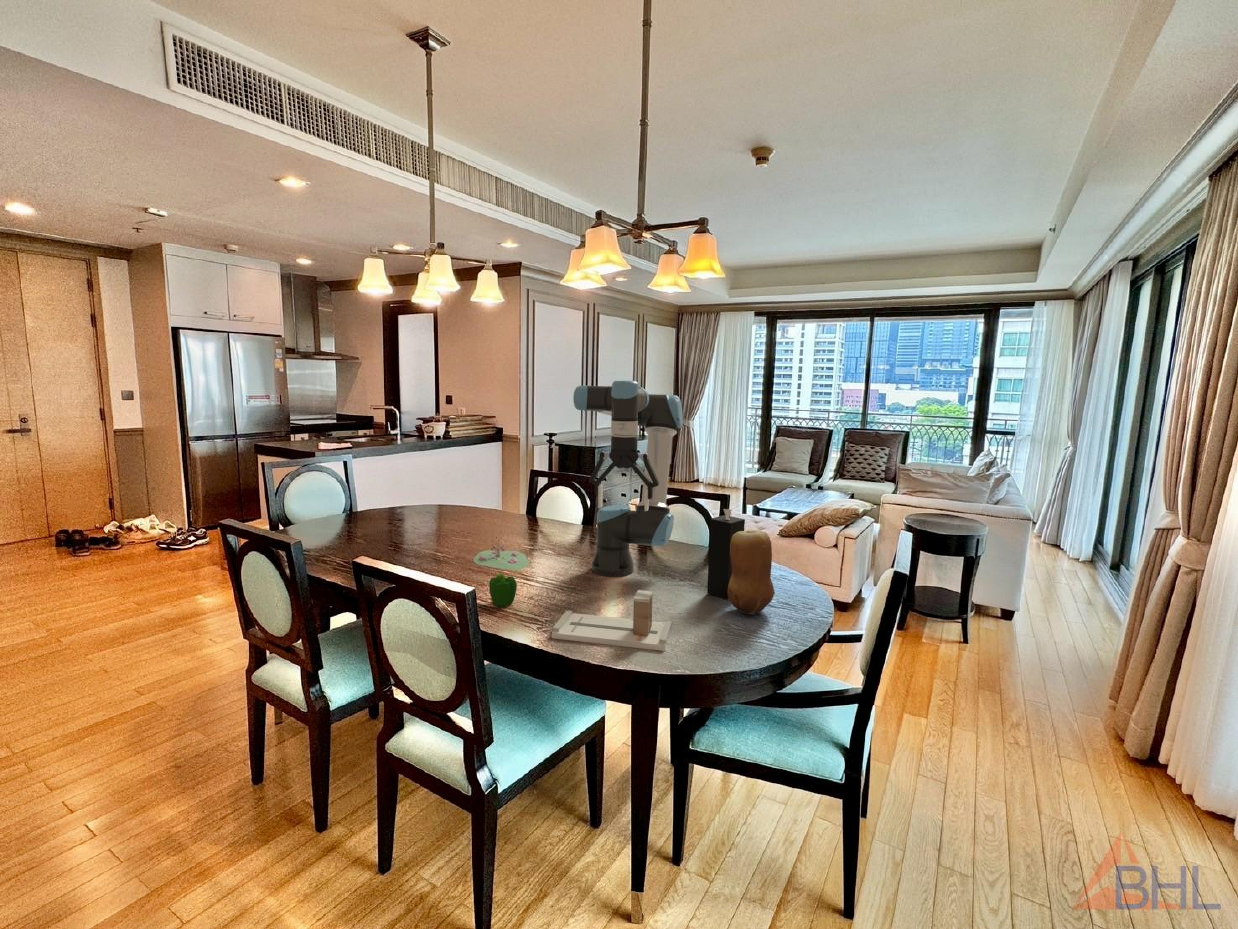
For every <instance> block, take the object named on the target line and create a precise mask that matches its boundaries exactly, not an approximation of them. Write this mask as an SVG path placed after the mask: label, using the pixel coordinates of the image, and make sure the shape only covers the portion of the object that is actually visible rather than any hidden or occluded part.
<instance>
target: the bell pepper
mask: <svg viewBox="0 0 1238 929" xmlns="http://www.w3.org/2000/svg"><path fill="white" fill-rule="evenodd" d="M517 584H518V583H517V581H516V579H515V578H514V577H513V576H512V575H511V576H504V574H503V573H500V572H499V573H498V574H497V575H496V576H495V577H491V578H490V580H489V584H488V585H489V587H488V588H489V589H488V590H489V593H490V594H489V595H490V598H491V601H492V603H493V605H494V606H496V607H499V608H501V607H502V608H503V607H506V606H508V605H512V604H513V603H514V601H515V598H516V594H517V590H518V589H517V588H518V587H517V586H518V585H517Z"/></svg>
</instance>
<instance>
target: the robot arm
mask: <svg viewBox="0 0 1238 929" xmlns="http://www.w3.org/2000/svg"><path fill="white" fill-rule="evenodd" d="M572 400H573V406H574V408H575V409H576V410H578V411H584V412H589V411H590V412H596V413H600V414H603V415H606V416H610V417H611V418H610V419H611V422H610V434H611V435H612V436H611V438H610V441H611V442H610V451H609V452H607V451H605V450H602V451H601V452H600V453H599V459H598V461H597V463H596V465H595V467H594V469H593V471H592V473H591V475H590V477H589V479H588V483H589V484H592V485H594V495H595V497H597V509H599V510H598V511H597V513H596V514H597V515H596V517H597V518H596V521H595V522H596V550H595V552H594V555H593V558H592V561H591V571H592V572H593V574H596V575H599V576H604V577H605V576H606V577H623V576H627V575H630V574H632V573H633V572H634V569H635V564H634V561H633V559H632V558H633V557H632V554H631V551H630V544H631V545H641V546H648V547H649V546H651V547H665V546H666V545H667V544H668V543H669V541H670V539H671V536H672V533H673V528H674V520H675V517H674V514H673V513H671V512H670V511H671V510H670V509H671V508H670V507H669V506H668V504H667V498H668V497H667V495H668V486H669V485H668V484H669V474H670V464H671V456H672V454H671V453H672V445H673V443H672V442H673V437H674V436H675V435H677V434H678V429H680V428H682V427H683V424H684V418H683V417H684V416H683V415H684V414H683V406H682V401H681V399H680V397H679V396H678V395H675V394H667V393H666V394H649V393H648V391H647V390H646V389H645V388H644V387H642V386H639V382H637V381H636V380H614V381H612V384H611V385H610V386H609V385H608V386H607V385H606V386H604V385H587V384H586V385H578V386H576V388H574V392H573V399H572ZM639 427H644V432H646V434H647V445H646V452H644V453H639V451H638V437H637V435H638V434H639V433H638V432H639ZM608 458H609V459H610V461H612V462H611V464H609V466H607V468H606V469H605V470H604V471H603V472H602V473H601V475H600V476H599V477H598V478H597V476H598V474H599V472H600V470H601V468H602V466H603V464H604V462H605V460H607V459H608ZM639 459H640V460H641V462H643V465H644V471H643V470H642V468H641V467H640V465H639V464H638V463H637V461H638V460H639ZM614 468H618V469H632V470H633V471H634V472H635V473H636V475H637V476H638V477H639V478H640V480H641V481H642V482H643V484H642V493H641V494H642V495H641V501H640V502H639V503H638V504H636V509H635V510H632V509H631V506H630V505H629V504H612V505H607V506H603V505H604V504H603V501H604V495H603V494H604V484H601V483H602V482H603V481H604V479H605V478H607V476H608V475H610V473H611V472H612V471H613V469H614ZM596 478H597V479H596Z"/></svg>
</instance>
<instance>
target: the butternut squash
mask: <svg viewBox="0 0 1238 929" xmlns="http://www.w3.org/2000/svg"><path fill="white" fill-rule="evenodd" d="M772 548H773V547H772V541H771V537H770V536H769V534H768V533H767V532H765V531H762V530H759V529H758V530H757V529H753V530H752V529H751V530H750V529H749V530H744V531H739V532H737V533H735V534H734V535H733V536H732V539H731V542H730V557H731V564H732V575H731V578H730V581H729V585H728V597H729V599H728V600H729V601H730V603H731V604H732V606H733V608H735V609H736V610H738V611H739V612H741V613H742V614H747V615H753V616H754V615H755V616H756V615H758V614H760V613H761V612H762V611H764V609H766V607H767V606H768V605H769V604H770V603H772V601H773V599H774V597H775V596H774V595H775V594H776V592H775V588H774V584H773V581H772V566H773V565H772V562H773V561H772V560H773V552H772V550H773V549H772Z"/></svg>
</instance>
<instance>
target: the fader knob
mask: <svg viewBox="0 0 1238 929" xmlns="http://www.w3.org/2000/svg"><path fill="white" fill-rule="evenodd" d="M632 610H633V612H632V613H633V615H632V618H633V634H638V635H647V636H648V634H649V632H650V629H651V627H652V620H653V591H650V590H639V589H638V590H637V591H636V593H635V595H634V596H633V609H632Z"/></svg>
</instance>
